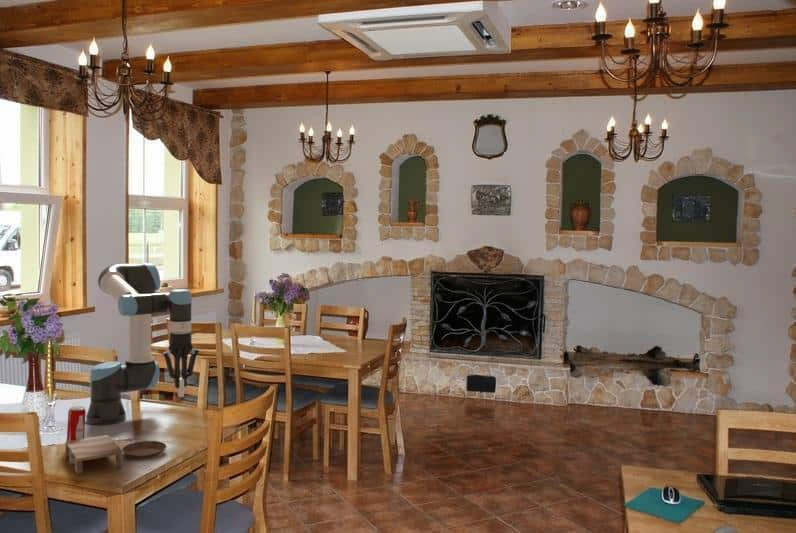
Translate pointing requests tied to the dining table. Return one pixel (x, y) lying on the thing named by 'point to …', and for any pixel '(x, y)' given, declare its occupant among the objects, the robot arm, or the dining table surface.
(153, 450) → the saucer
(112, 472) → the dining table surface
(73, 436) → the beverage can
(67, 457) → the overhang shelf
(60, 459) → the dining table surface
